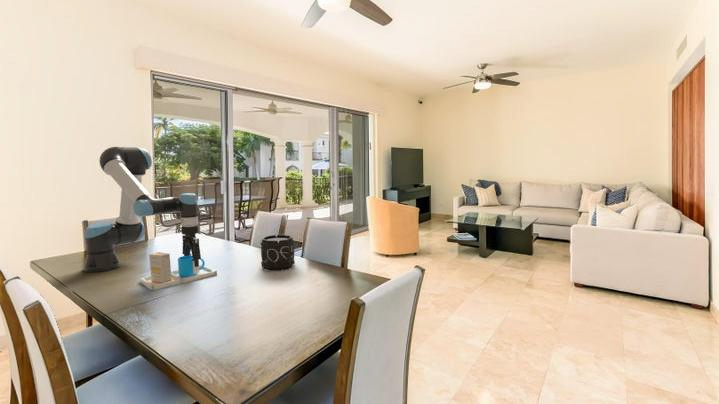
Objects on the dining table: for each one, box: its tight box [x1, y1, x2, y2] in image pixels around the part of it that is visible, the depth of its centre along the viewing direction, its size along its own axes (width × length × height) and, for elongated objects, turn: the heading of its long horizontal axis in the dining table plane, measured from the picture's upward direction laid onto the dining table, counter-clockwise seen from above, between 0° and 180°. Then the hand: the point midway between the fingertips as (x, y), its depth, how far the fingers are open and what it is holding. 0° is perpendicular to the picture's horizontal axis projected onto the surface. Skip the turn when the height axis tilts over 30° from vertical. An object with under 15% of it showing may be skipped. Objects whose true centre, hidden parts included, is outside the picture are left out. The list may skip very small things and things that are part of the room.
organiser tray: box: [139, 264, 218, 292], centre depth 168 cm, size 16×29×2 cm, turn 137°
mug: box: [177, 254, 206, 277], centre depth 171 cm, size 12×8×8 cm
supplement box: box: [148, 251, 172, 283], centre depth 161 cm, size 8×5×13 cm, turn 65°
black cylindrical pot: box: [260, 234, 296, 272], centre depth 185 cm, size 18×18×16 cm
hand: (192, 270), depth 172 cm, fingers open, 8 cm apart
